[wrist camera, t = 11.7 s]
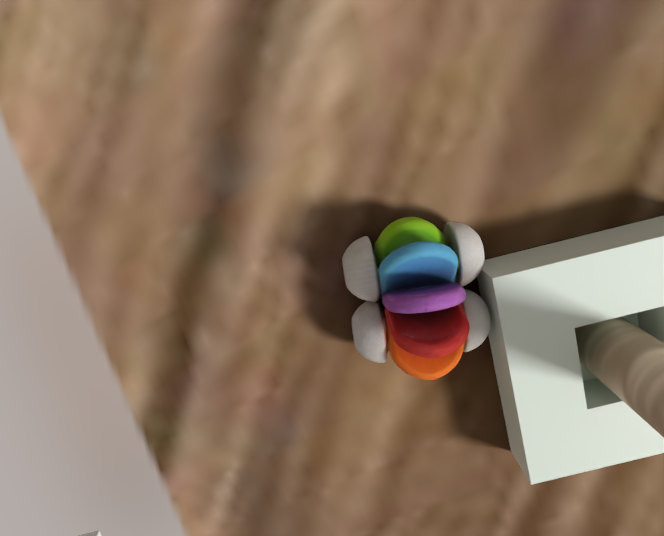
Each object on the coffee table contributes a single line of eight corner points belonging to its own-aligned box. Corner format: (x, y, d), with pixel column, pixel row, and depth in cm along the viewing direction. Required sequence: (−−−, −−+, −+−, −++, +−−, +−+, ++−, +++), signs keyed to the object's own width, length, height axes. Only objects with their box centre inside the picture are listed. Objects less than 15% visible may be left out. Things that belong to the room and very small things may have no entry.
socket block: (474, 262, 39) (492, 278, 36) (687, 209, 39) (729, 219, 35) (510, 451, 43) (531, 484, 39) (707, 403, 42) (747, 432, 39)
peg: (564, 318, 40) (697, 420, 26) (624, 303, 40) (788, 398, 26) (574, 373, 41) (706, 499, 27) (632, 358, 41) (794, 478, 27)
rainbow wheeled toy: (356, 362, 41) (365, 413, 34) (336, 221, 39) (342, 244, 32) (481, 344, 41) (517, 392, 34) (469, 201, 39) (504, 220, 32)
